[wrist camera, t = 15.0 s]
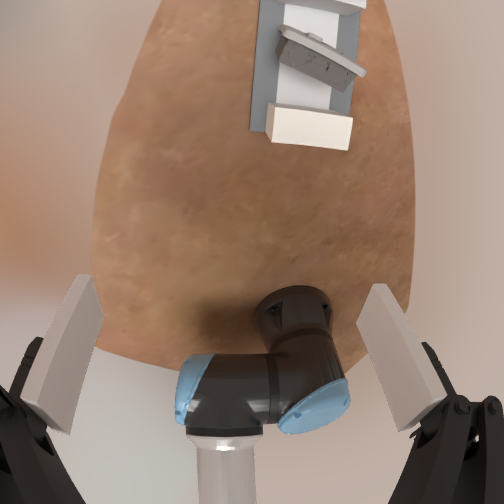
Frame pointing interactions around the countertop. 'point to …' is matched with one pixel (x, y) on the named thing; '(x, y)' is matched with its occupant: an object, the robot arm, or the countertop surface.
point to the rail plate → (303, 74)
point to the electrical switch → (316, 58)
